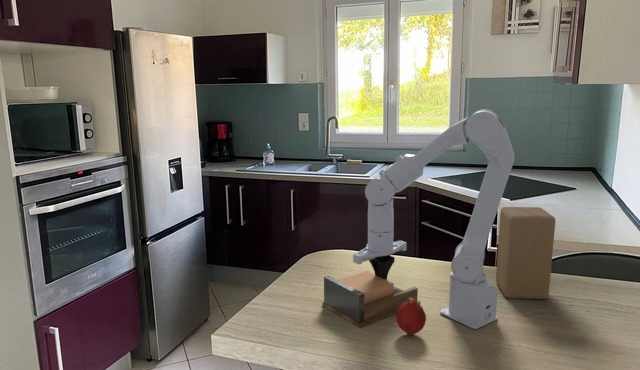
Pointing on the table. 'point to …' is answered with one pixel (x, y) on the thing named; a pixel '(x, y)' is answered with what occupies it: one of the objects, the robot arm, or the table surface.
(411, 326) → the red pomegranate
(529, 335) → the table surface
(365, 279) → the tile
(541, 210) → the wooden block
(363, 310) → the track
